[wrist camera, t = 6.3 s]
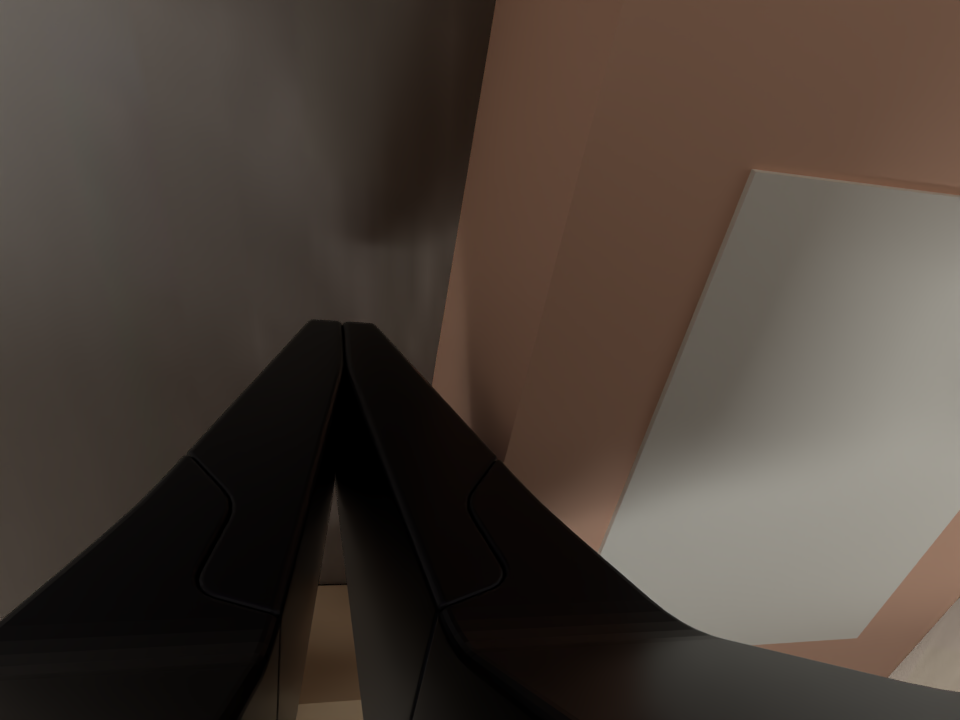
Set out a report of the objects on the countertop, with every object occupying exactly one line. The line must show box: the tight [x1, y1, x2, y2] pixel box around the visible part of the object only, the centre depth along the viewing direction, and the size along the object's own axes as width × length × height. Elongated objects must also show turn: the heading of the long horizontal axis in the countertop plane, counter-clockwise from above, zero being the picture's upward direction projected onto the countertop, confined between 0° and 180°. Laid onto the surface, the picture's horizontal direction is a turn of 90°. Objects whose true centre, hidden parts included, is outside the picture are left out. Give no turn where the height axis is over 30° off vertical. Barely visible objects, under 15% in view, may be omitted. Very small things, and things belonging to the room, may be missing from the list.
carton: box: [432, 0, 960, 678], centre depth 10 cm, size 8×10×5 cm
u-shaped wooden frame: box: [296, 585, 363, 720], centre depth 11 cm, size 13×16×2 cm
